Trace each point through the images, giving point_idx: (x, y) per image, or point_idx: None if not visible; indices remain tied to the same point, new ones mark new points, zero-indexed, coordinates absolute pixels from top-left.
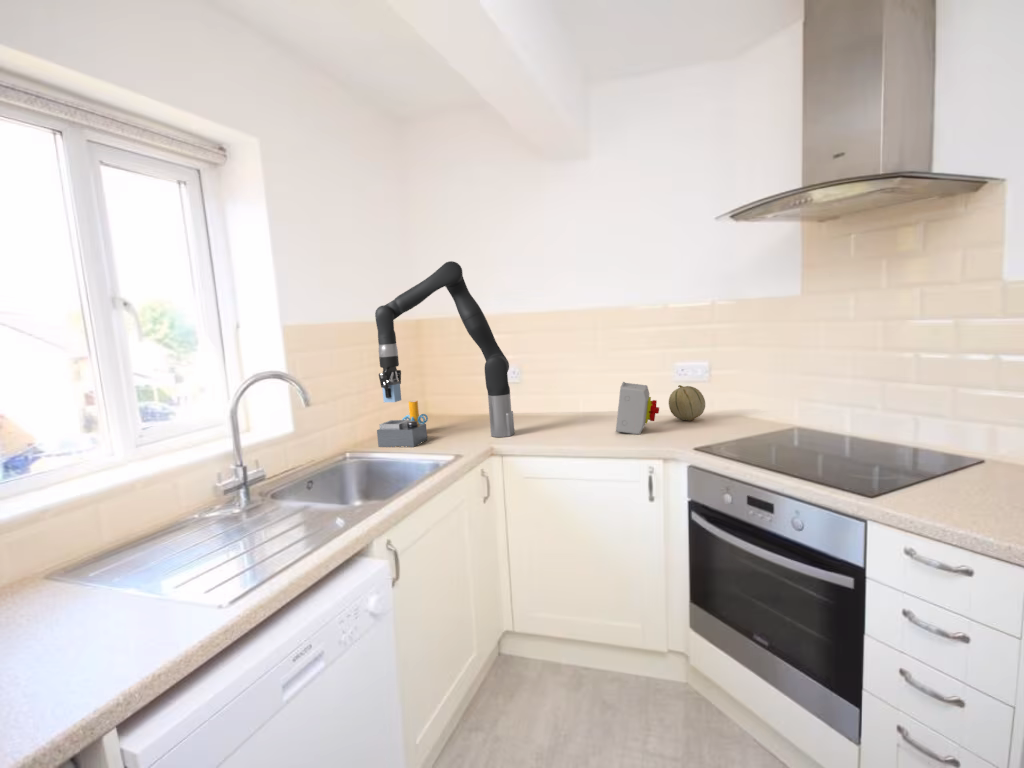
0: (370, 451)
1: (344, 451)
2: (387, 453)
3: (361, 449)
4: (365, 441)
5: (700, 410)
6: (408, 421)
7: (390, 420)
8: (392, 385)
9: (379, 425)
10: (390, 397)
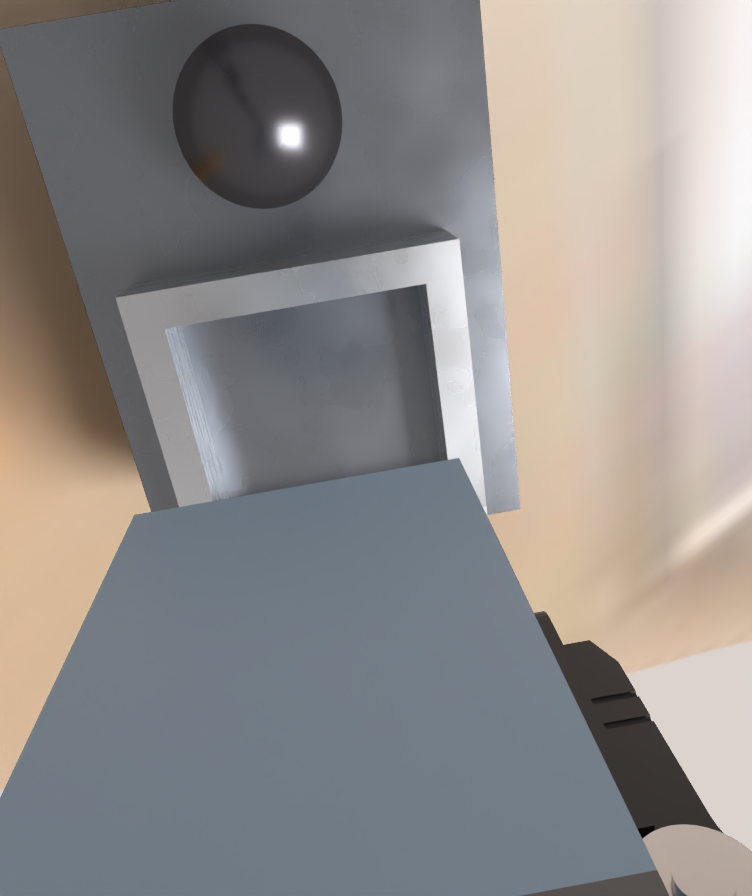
0: (631, 389)
1: (638, 609)
2: (703, 146)
3: (568, 523)
4: None
5: None
6: (166, 286)
7: None
8: (647, 888)
9: None
10: None
